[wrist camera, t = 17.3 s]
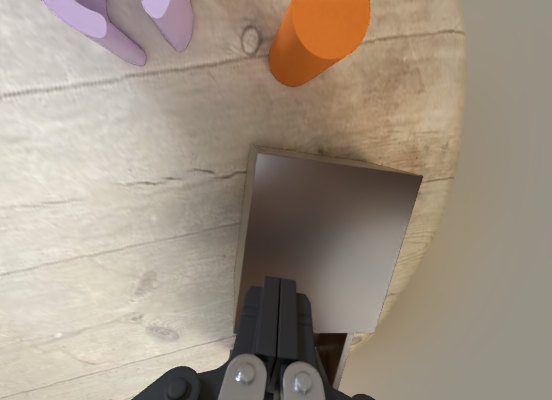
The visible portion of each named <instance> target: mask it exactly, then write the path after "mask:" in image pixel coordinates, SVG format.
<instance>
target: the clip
mask: <svg viewBox="0 0 552 400" xmlns="http://www.w3.org/2000/svg"><path fill="white" fill-rule="evenodd" d="M41 1H42V2H43V3H44V4H45V5H46V6H47V7H48V8H49V9H50V10H51V11H52V12H53V13H54V14H55V15H56V16H57V17H58V18H60V19H61V20H62V21H64V22H65V23H66V24H68V25H69V26H71V27H73V28H74V29H76V30H77V31H79V32H81V33H82V34H84V35H85V36H87V37H89V38H90V39H92V40H93V41H95V42H97V43H98V44H100V45H101V46H103V47H105V48H106V49H108V50H109V51H111V52H112V53H114V54H116V55H117V56H119V57H120V58H122V59H124V60H126V61H128V62H130V63H132V64H135V65H139V66H142V65H144V64H145V62H146V55H145V52H144V51H143V50H142V49H141V48H140V47H138V46H137V45H136V44H135V43H134V42H133V41H131V40H130V39H129V38H128V37H127V36H126V35H124V34H123V33H122V32H121V31H120V30H119V29H117V28H116V27H115V26H114V25H113V24H111V23H110V21H109V18H108V15H107V11H106V0H41ZM142 6H143V8H144V9H145V11H146V12H147V13H148V15H149V16H150V17H151V19H152V20H153V21H154V23H155V24H156V25H157V27H158V28H159V29H160V31H161V32H162V33H163V35H164V36H165V37H166V39H167V40H168V41H169V42H170V44H171V45H172V46H173V48H174V49H175V50H176V51H178V52H182V51H184V50H185V48H186V47H187V45H188V43H189V41H190V38H191V34H192V29H193V13H192V7H191V3H190V0H142Z"/></svg>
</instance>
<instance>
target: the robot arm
mask: <svg viewBox="0 0 552 400" xmlns="http://www.w3.org/2000/svg"><path fill="white" fill-rule="evenodd" d="M312 325H313V322H312V311H311V303H310V301H309V300H308V298H307V296H306V294H303V293H296V280H290V279H284V278H277V277H271V276H264V280H263V286H262V287H258V286H252V285H251V287H250V288H249V289H248V291H247V292H246V293H245V297H244V302H243V306H242V311H241V316H240V321H239V326H238V330H237V335H236V340H235V345H234V349H233V353H232V355H231V357H230V358H229V360H228V361H227V362H226V363H225V364H224V365H222V366H221V367H219V368H217V369H215V370H211V371H207V372H202V373H198V374H197V373H196V371H195V370H193V369H192V368H190V367H186V366H180V367H175V368H173V369H171V370H169V371H167V372H166V373H165V374H163V375H162V376H161V377H160V378H158V379H157V380H156V381H154V382H153V383H152V384H151V385H149V386H148V387H147V388H146V389H144V390H143V391H142V392H140V393H139V394H138V395H137V396H135V397H134V398H133V399H131V400H264V395H265V392H266V389H267V386H268V392H271V393H274V400H375V399H373V398H372V397H370V396H368V395H365V394H357V395H354V396H353V397H352V398H351V397H349V396H347V395H346V394H344V393H342V392H340V391H338V390H336V389H335V388H333V387H331V386H330V385H329V384H328V383H327V382H326V381H325V380H324V379H323V378H322V376H321V374H320V373H319V370H318V368H317V364H316V355H315V344H314V333H313V326H312Z"/></svg>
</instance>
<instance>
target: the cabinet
mask: <svg viewBox="0 0 552 400" xmlns="http://www.w3.org/2000/svg"><path fill="white" fill-rule="evenodd" d="M422 178H423V176H422V175H418V174H414V173H410V172H406V171H402V170H398V169H394V168H390V167H386V166H382V165H378V164H374V163H370V162H364V161H357V160H350V159H344V158H337V157H330V156H323V155H317V154H310V153H303V152H296V151H289V150H283V149H276V148H269V147H262V146H255V145H250V148H249V156H248V164H247V172H246V181H245V189H244V197H243V205H242V213H241V222H240V230H239V238H238V246H237V254H236V263H235V271H234V315H233V325H234V326H233V333H234V334H237V330H238V326H239V321H240V316H241V311H242V306H243V302H244V297H245V293H246V292H247V291H248V289H249V288H250V287H251V285H252V286H258V287H262V286H263V280H264V276H271V277H277V278H284V279H290V280H296V293H303V294H306V296H307V298H308V300H309V301H310V303H311V311H312V322H313V325H312V326H313V333H374V332H375V329H376V326H377V323H378V320H379V316H380V313H381V310H382V307H383V303H384V300H385V297H386V294H387V291H388V287H389V284H390V281H391V278H392V275H393V271H394V268H395V265H396V262H397V259H398V255H399V252H400V249H401V246H402V243H403V239H404V236H405V233H406V230H407V226H408V223H409V220H410V217H411V214H412V210H413V207H414V204H415V201H416V198H417V194H418V191H419V188H420V185H421V182H422Z"/></svg>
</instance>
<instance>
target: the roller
mask: <svg viewBox="0 0 552 400" xmlns="http://www.w3.org/2000/svg"><path fill="white" fill-rule="evenodd" d="M369 20H370V1H369V0H291V2H290V4H289V6H288V8H287V11H286V13H285V15H284V18H283V20H282V22H281V25H280V27H279V29H278V31H277V34H276V36H275V38H274V41H273V43H272V45H271V48H270V51H269V65H270V69H271V71H272V73H273V75H274V76H275V78H276V79H277V80H278V81H279V82H281V83H282V84H284V85H287V86H292V87H295V86H300V85H303V84H304V83H306V82H308V81H309V80H311V79H312V78H314V77H315V76H317V75H318V74H320V73H321V72H323V71H324V70H326V69H327V68H329V67H330V66H332V65H333V64H335V63H336V62H338V61H340V60H341V59H343V58H344V57H346V56H347V55H349V54H350V53H352V52H353V51H354V50H355V49H356V48H357V47H358V46H359V44H360V43H361V41H362V40H363V38H364V36H365V34H366V31H367V29H368V25H369Z"/></svg>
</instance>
